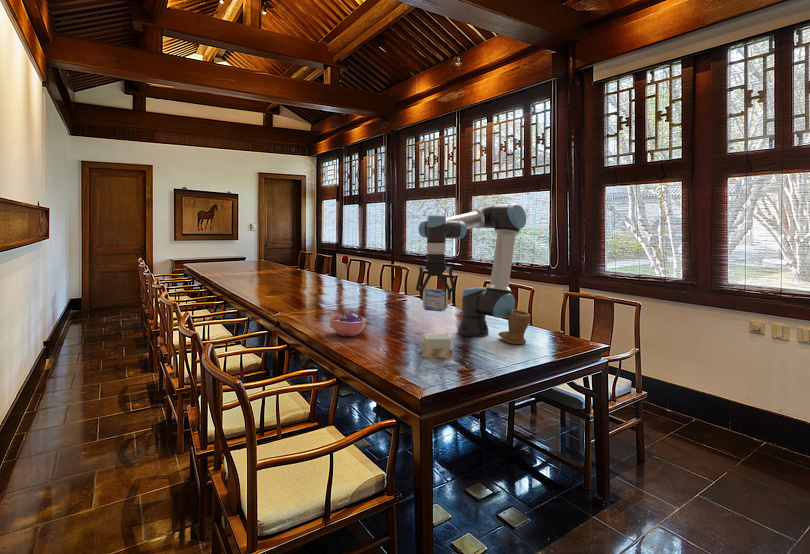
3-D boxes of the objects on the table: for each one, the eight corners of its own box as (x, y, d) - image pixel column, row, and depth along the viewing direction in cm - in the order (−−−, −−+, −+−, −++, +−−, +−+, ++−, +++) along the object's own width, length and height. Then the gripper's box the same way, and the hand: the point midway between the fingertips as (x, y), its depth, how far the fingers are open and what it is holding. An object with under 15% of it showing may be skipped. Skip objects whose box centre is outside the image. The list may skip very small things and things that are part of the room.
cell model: (351, 329, 233) (351, 307, 232) (374, 336, 218) (374, 313, 217) (322, 333, 222) (322, 311, 221) (344, 341, 207) (344, 317, 206)
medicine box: (424, 310, 187) (424, 289, 186) (428, 308, 191) (429, 288, 190) (441, 311, 183) (441, 290, 182) (445, 310, 187) (446, 289, 186)
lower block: (449, 351, 194) (449, 342, 194) (452, 359, 182) (452, 349, 182) (421, 350, 194) (421, 341, 194) (422, 359, 183) (422, 349, 182)
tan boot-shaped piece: (533, 345, 203) (534, 313, 202) (507, 346, 202) (508, 313, 201) (521, 337, 218) (522, 307, 217) (497, 338, 217) (498, 307, 216)
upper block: (447, 342, 193) (447, 333, 193) (449, 348, 183) (450, 339, 183) (423, 342, 193) (423, 333, 193) (425, 348, 183) (425, 339, 183)
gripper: (461, 253, 188) (460, 306, 190) (409, 252, 188) (409, 305, 191) (463, 254, 180) (462, 309, 183) (409, 253, 181) (409, 309, 183)
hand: (435, 307), depth 187 cm, fingers closed on medicine box, 9 cm apart
